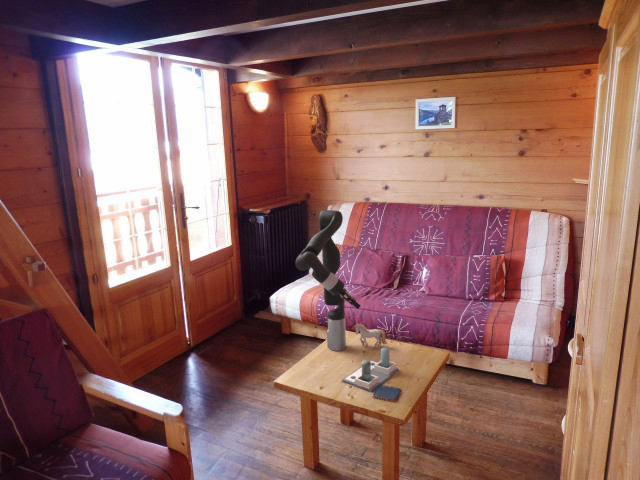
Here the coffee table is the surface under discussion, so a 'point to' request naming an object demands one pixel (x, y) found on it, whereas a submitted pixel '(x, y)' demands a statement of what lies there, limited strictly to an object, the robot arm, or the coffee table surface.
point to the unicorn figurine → (370, 335)
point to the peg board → (374, 373)
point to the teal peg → (366, 371)
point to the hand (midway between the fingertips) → (356, 304)
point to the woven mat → (387, 393)
